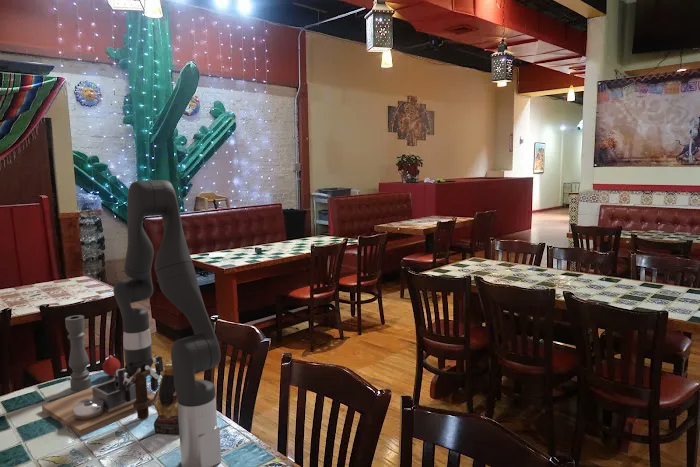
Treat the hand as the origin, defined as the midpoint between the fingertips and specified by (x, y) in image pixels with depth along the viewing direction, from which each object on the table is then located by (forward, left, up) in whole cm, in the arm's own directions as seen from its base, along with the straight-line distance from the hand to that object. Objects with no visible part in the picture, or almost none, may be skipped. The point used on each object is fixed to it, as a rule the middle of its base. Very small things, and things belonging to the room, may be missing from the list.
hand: (141, 395), depth 145 cm
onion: (+37, -10, -7) cm, 39 cm away
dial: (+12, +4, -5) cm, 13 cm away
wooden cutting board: (+17, +4, -7) cm, 19 cm away
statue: (-14, -2, -7) cm, 16 cm away
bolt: (0, 0, -7) cm, 7 cm away
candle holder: (+37, +1, -7) cm, 37 cm away
